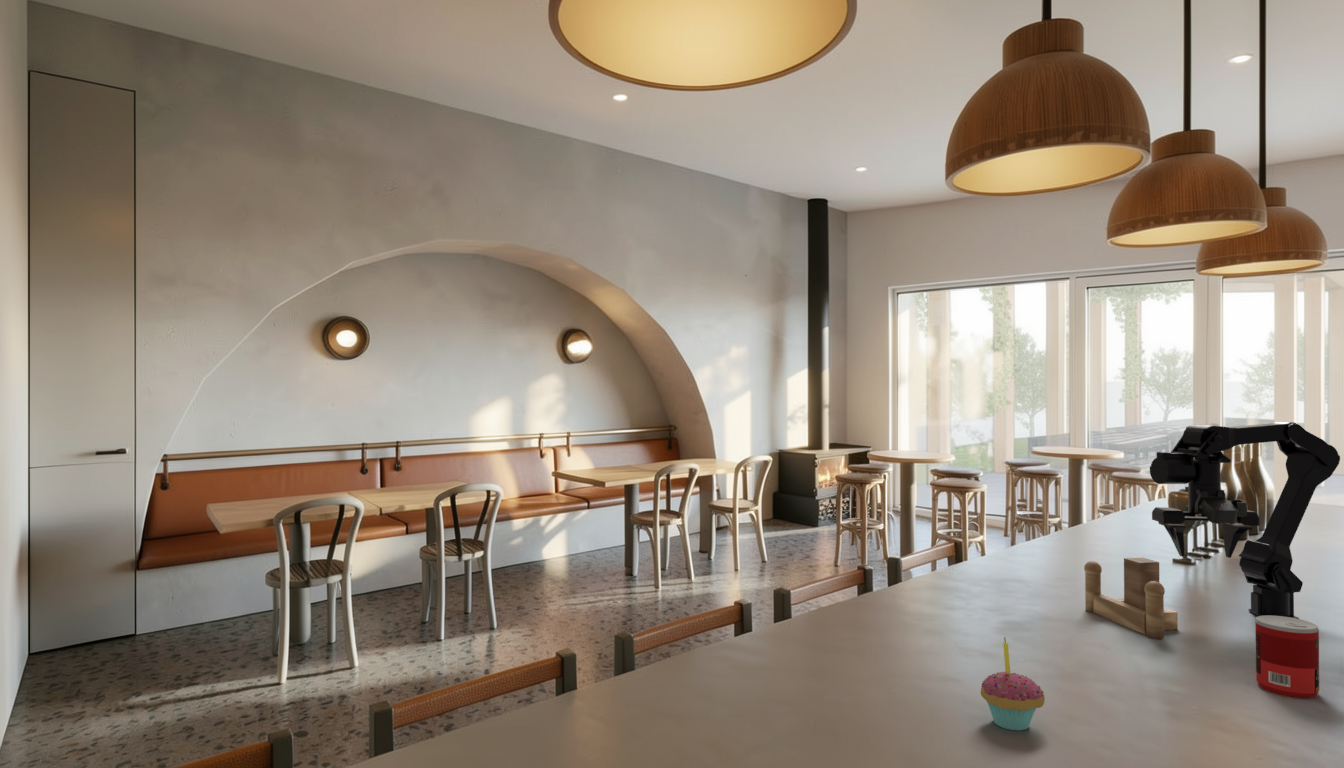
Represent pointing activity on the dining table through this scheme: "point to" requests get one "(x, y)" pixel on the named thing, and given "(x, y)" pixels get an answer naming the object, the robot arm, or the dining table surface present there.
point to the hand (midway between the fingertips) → (1205, 556)
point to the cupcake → (1011, 697)
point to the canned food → (1287, 656)
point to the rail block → (1138, 580)
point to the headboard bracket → (1129, 606)
